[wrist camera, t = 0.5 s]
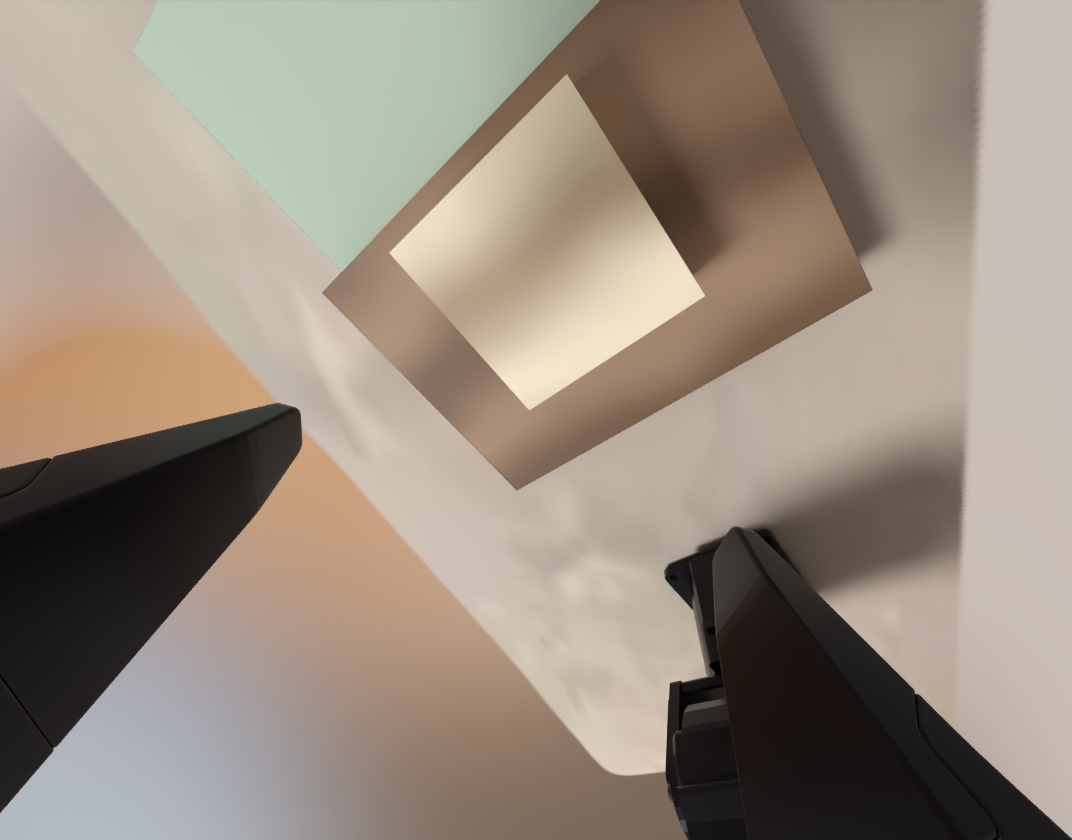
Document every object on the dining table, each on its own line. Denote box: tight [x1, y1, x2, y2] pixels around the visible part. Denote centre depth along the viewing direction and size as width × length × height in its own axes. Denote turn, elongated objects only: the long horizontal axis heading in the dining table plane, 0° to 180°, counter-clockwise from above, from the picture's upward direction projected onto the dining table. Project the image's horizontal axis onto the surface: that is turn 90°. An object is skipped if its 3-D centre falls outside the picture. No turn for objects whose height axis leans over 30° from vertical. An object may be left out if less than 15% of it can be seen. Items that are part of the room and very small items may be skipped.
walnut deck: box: [322, 0, 872, 490], centre depth 17 cm, size 12×16×2 cm
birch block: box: [389, 74, 705, 410], centre depth 15 cm, size 7×7×2 cm
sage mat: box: [133, 0, 600, 272], centre depth 15 cm, size 10×16×1 cm, turn 130°
